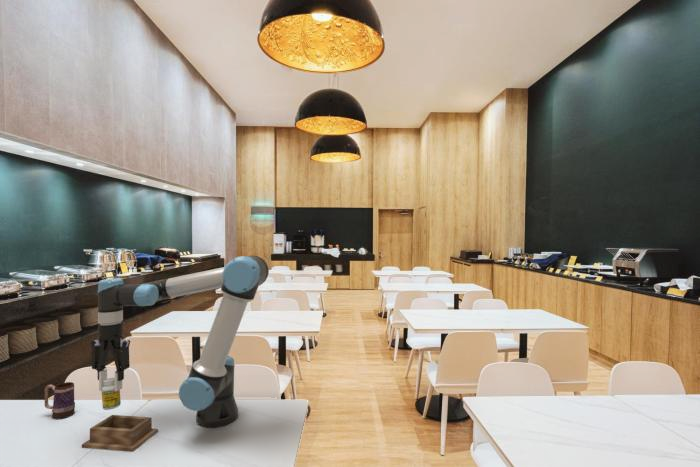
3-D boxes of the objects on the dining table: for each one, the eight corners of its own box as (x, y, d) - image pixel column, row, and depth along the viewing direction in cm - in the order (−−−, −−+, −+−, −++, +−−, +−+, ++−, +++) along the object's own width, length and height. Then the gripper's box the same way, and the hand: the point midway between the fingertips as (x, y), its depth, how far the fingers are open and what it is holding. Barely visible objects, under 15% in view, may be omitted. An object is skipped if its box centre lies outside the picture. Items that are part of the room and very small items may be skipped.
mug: (79, 410, 150) (79, 380, 150) (67, 419, 143) (68, 387, 143) (51, 411, 149) (52, 381, 149) (38, 420, 142) (39, 387, 142)
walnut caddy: (158, 431, 134) (158, 415, 134) (132, 451, 121) (133, 434, 121) (111, 428, 136) (111, 412, 136) (81, 447, 123) (81, 430, 123)
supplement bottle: (120, 402, 137) (119, 375, 137) (120, 407, 132) (119, 379, 133) (102, 406, 134) (101, 379, 134) (102, 411, 129) (101, 383, 130)
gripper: (141, 321, 136) (141, 386, 136) (95, 320, 139) (95, 384, 138) (126, 325, 129) (126, 394, 128) (78, 325, 131) (78, 392, 131)
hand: (110, 389), depth 133 cm, fingers closed on supplement bottle, 5 cm apart
